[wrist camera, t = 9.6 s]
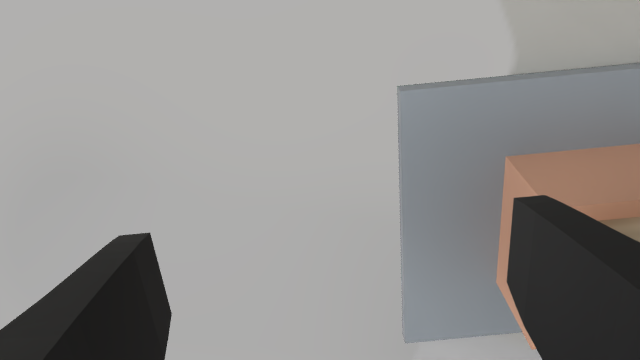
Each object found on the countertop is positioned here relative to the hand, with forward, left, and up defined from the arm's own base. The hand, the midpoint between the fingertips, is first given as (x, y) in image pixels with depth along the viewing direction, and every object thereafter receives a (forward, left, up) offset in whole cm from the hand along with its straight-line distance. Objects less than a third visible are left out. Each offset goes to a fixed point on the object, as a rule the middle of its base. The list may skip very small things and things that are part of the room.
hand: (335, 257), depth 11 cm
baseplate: (+10, -6, -10) cm, 16 cm away
